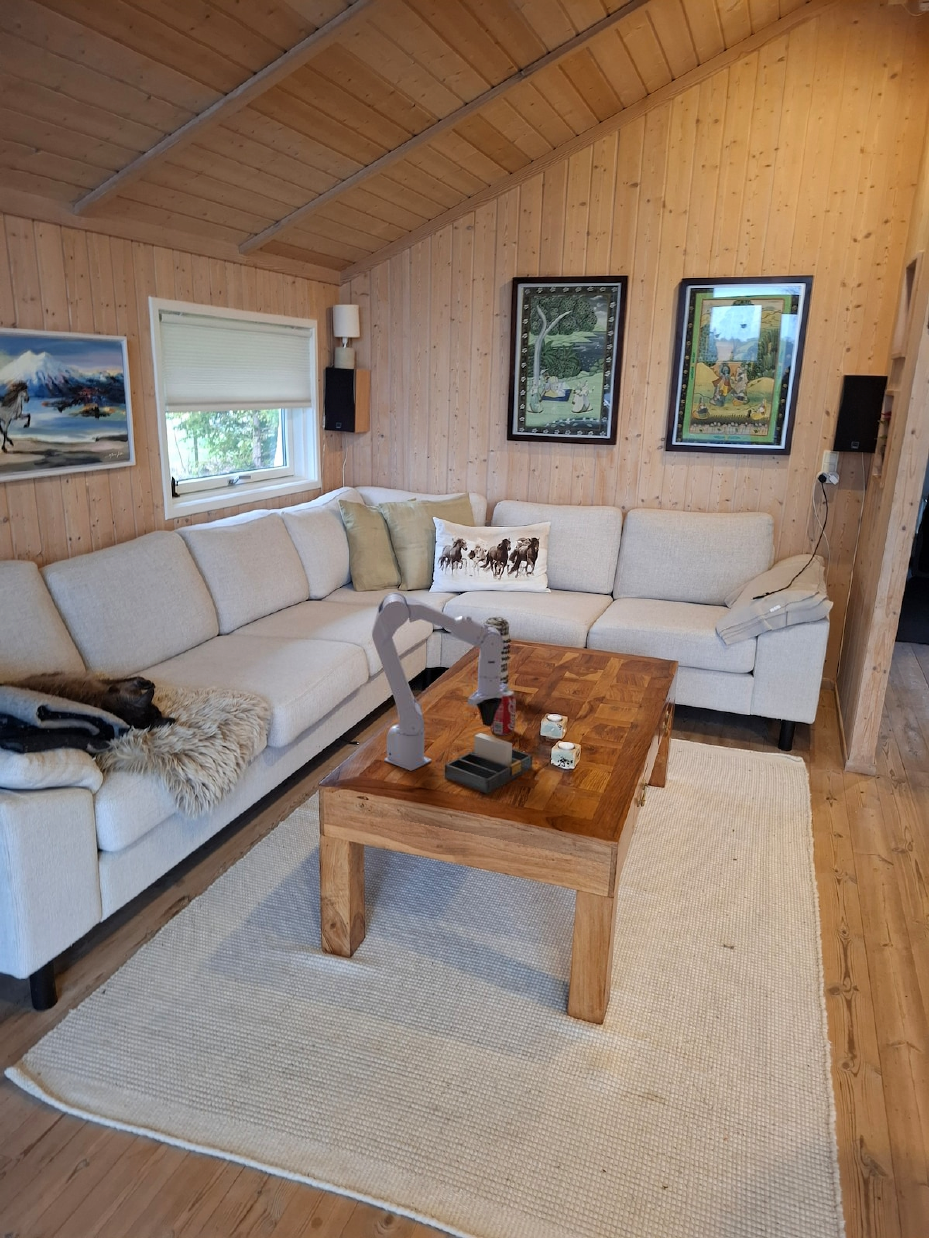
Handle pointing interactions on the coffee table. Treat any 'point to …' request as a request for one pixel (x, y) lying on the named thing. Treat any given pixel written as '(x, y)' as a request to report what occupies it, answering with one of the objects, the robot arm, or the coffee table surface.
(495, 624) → the decorative candle
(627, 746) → the coffee table surface
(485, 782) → the rack
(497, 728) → the soda can
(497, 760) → the panel
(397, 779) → the coffee table surface
